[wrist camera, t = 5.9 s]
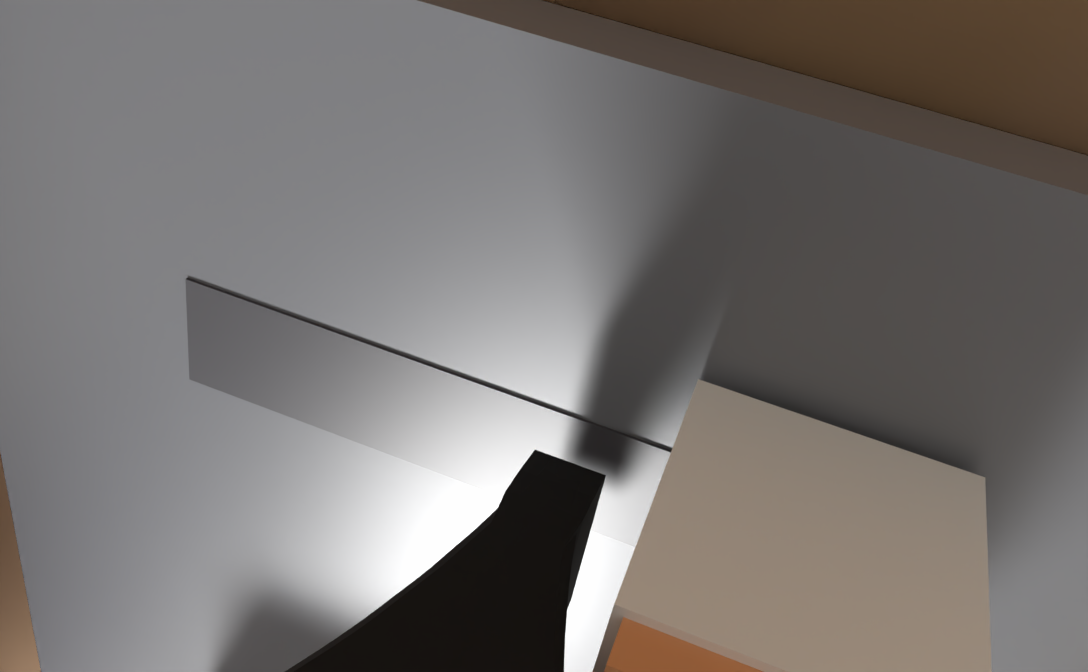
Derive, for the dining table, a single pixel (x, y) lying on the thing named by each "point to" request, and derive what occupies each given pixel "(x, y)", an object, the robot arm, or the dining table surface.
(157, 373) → the panel
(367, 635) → the robot arm
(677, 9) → the dining table surface
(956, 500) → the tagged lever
